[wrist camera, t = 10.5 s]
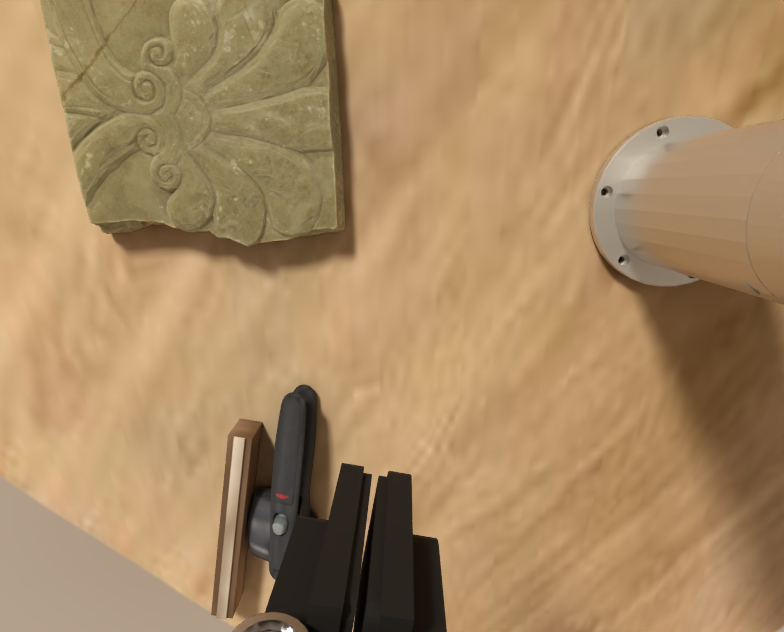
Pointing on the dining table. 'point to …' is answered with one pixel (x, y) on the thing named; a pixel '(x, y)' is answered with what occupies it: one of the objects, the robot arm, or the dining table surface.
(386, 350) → the dining table surface
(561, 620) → the dining table surface
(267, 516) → the can opener
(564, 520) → the dining table surface
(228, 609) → the walnut rail
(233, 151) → the decorative tile
